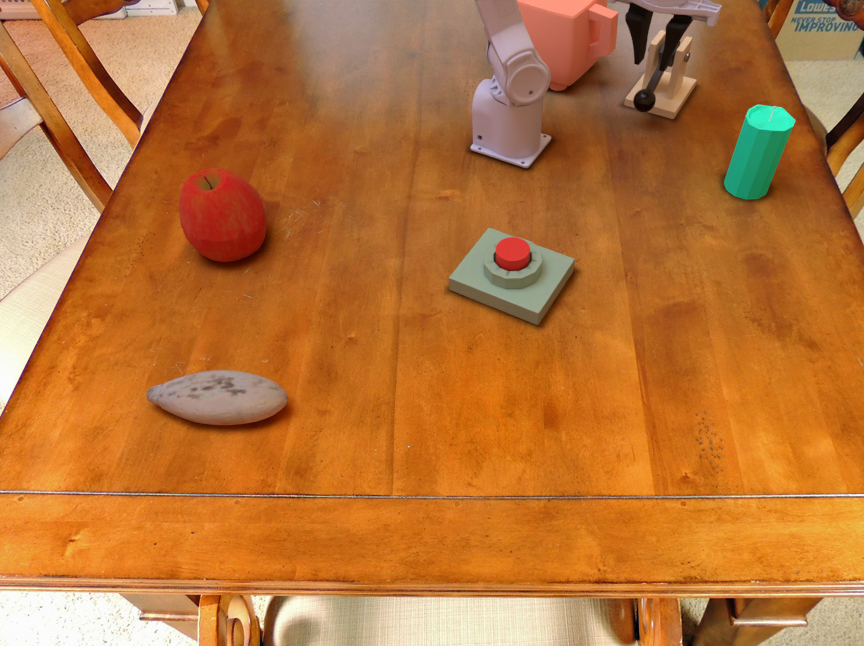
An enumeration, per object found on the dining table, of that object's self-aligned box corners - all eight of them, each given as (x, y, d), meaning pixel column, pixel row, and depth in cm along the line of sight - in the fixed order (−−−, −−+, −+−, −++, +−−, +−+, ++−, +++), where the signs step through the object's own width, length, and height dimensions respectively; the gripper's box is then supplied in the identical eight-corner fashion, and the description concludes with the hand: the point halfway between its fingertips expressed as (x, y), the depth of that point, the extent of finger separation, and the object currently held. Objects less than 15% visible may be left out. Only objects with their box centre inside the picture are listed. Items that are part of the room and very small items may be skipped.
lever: (650, 119, 100) (651, 104, 97) (629, 113, 101) (629, 98, 98) (682, 55, 102) (684, 39, 99) (661, 50, 103) (663, 34, 100)
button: (489, 264, 80) (489, 253, 79) (505, 243, 82) (505, 232, 81) (519, 276, 79) (520, 265, 78) (535, 254, 81) (535, 243, 80)
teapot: (470, 66, 112) (467, -25, 101) (511, 33, 118) (513, -57, 107) (587, 108, 105) (598, 14, 93) (625, 70, 111) (640, -23, 99)
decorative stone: (161, 380, 76) (148, 362, 73) (299, 383, 75) (291, 365, 72) (143, 427, 72) (129, 410, 69) (287, 431, 72) (279, 413, 69)
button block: (449, 290, 83) (447, 266, 80) (488, 239, 88) (488, 215, 85) (537, 325, 79) (539, 302, 76) (573, 271, 84) (576, 247, 81)
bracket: (673, 119, 103) (686, 63, 96) (623, 105, 105) (632, 50, 98) (695, 86, 108) (709, 31, 101) (647, 73, 110) (657, 18, 103)
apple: (256, 206, 93) (231, 139, 84) (286, 249, 88) (264, 183, 79) (182, 235, 89) (149, 169, 81) (210, 282, 84) (178, 217, 76)
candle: (769, 202, 91) (801, 123, 82) (723, 197, 92) (750, 117, 82) (767, 174, 95) (798, 95, 85) (723, 169, 96) (749, 90, 86)
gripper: (739, -43, 83) (711, 63, 94) (628, -66, 88) (614, 38, 99) (721, -19, 80) (694, 89, 91) (607, -44, 84) (594, 62, 95)
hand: (651, 64), depth 94 cm, fingers open, 3 cm apart
